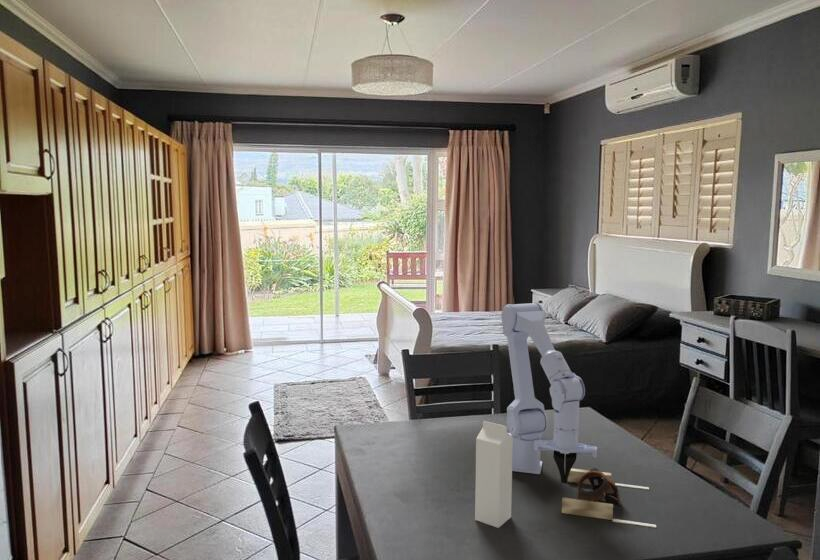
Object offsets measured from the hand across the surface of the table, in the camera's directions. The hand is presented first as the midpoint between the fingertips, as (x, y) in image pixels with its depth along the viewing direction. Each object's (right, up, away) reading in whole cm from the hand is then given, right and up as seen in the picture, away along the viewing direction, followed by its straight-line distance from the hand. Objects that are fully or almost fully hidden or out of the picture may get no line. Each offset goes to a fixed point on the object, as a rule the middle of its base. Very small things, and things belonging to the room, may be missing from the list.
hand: (564, 481), depth 147 cm
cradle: (+5, -4, -1) cm, 6 cm away
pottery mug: (+7, -4, -2) cm, 9 cm away
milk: (-19, -5, -11) cm, 22 cm away
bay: (+15, -4, -4) cm, 16 cm away
